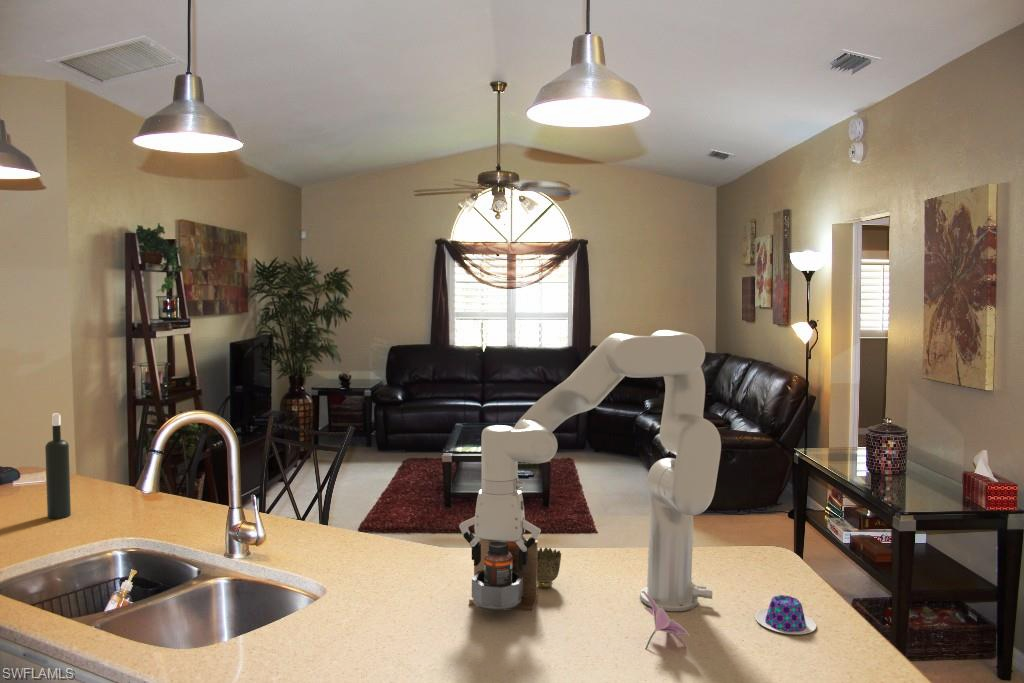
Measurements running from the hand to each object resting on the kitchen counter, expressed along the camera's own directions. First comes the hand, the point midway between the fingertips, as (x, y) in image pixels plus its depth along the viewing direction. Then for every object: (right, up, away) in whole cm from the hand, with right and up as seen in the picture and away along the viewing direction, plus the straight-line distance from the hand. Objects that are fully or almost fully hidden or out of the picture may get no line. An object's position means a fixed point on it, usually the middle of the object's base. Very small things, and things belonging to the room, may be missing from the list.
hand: (499, 565), depth 158 cm
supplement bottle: (0, -7, 0) cm, 7 cm away
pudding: (+60, -12, -1) cm, 61 cm away
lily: (+32, -12, -11) cm, 36 cm away
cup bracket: (0, -10, +3) cm, 11 cm away
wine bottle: (-128, -4, +60) cm, 142 cm away
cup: (+10, -10, +16) cm, 21 cm away
